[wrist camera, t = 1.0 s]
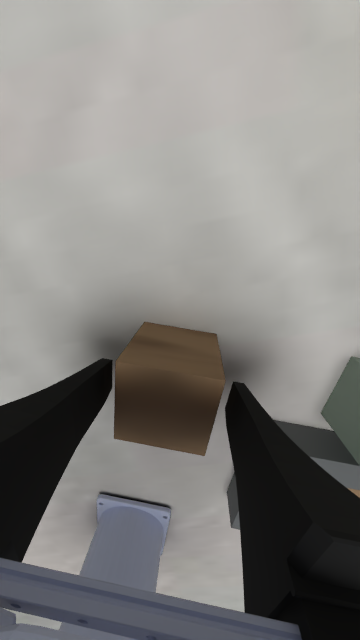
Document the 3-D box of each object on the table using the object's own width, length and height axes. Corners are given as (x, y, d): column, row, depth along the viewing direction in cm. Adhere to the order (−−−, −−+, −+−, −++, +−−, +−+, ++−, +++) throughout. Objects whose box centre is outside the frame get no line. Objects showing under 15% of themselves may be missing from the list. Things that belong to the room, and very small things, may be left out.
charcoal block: (327, 506, 19) (349, 552, 16) (226, 486, 19) (231, 527, 16) (380, 435, 15) (421, 477, 12) (254, 412, 16) (266, 448, 13)
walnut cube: (202, 391, 15) (204, 455, 10) (140, 379, 15) (113, 438, 10) (216, 333, 13) (225, 380, 8) (144, 321, 13) (115, 361, 9)
